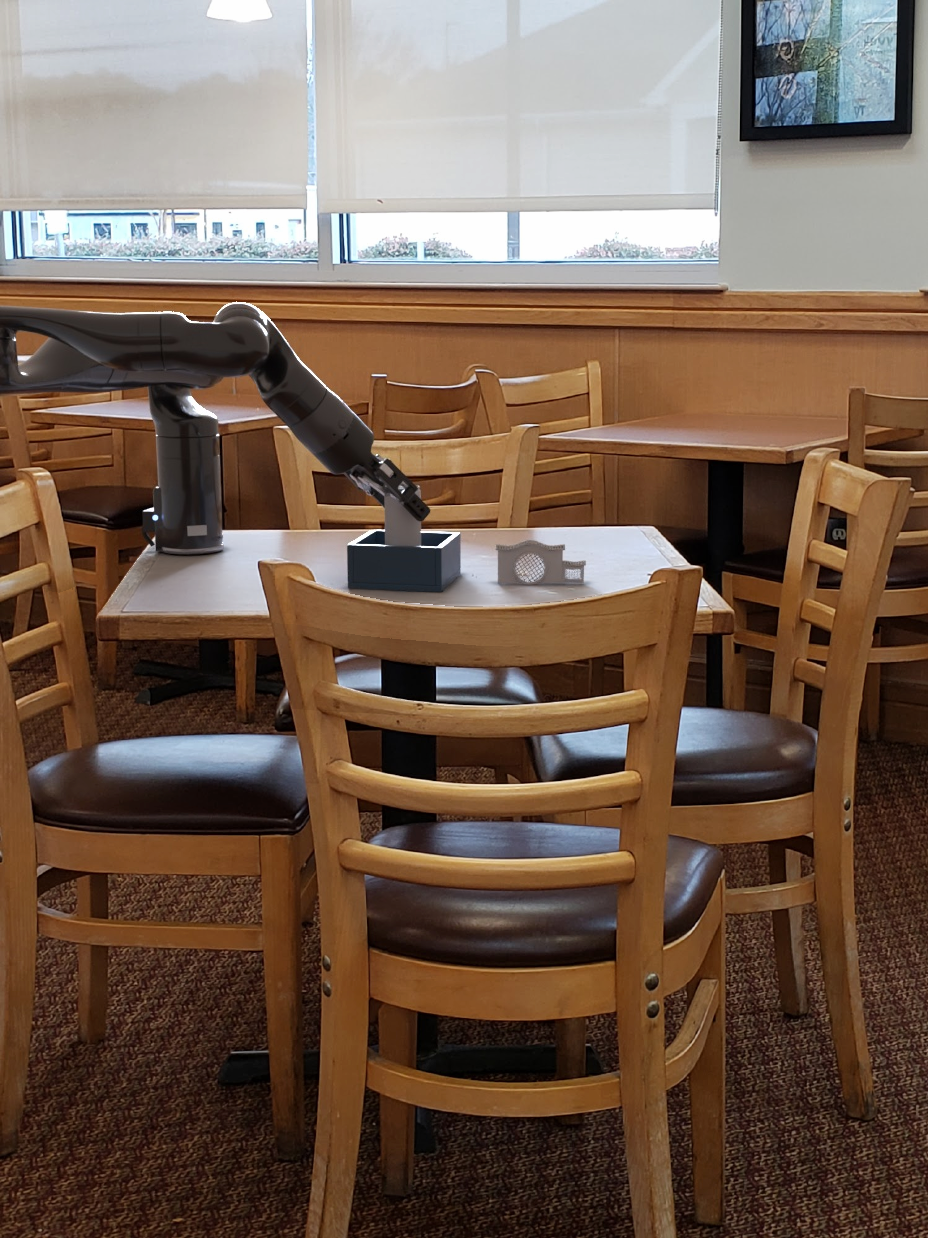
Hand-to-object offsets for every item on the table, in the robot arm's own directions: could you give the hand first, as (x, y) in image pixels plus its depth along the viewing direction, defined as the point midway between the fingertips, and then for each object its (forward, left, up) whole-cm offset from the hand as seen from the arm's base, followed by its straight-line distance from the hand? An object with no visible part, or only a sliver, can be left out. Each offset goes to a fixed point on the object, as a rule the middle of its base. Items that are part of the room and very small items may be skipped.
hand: (410, 512), depth 195 cm
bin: (-1, -1, -9) cm, 9 cm away
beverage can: (-1, -1, -9) cm, 9 cm away
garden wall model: (+17, +1, -9) cm, 20 cm away
